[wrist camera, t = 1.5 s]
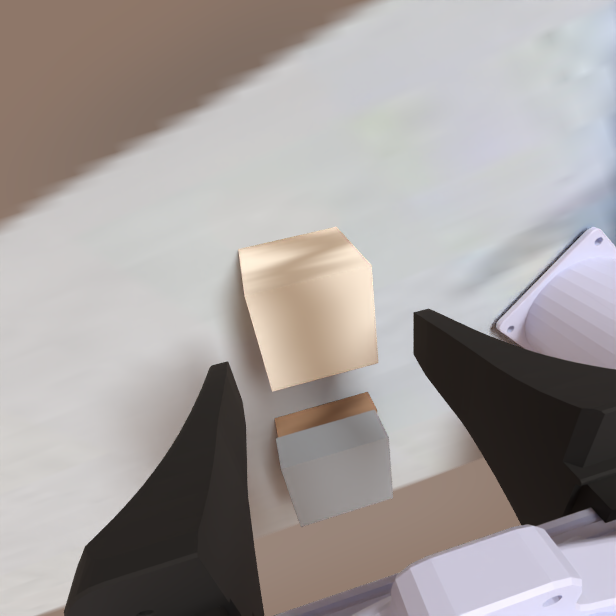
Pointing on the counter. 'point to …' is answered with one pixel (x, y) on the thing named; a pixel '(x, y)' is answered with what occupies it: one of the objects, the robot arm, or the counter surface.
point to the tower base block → (324, 414)
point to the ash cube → (310, 306)
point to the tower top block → (336, 467)
